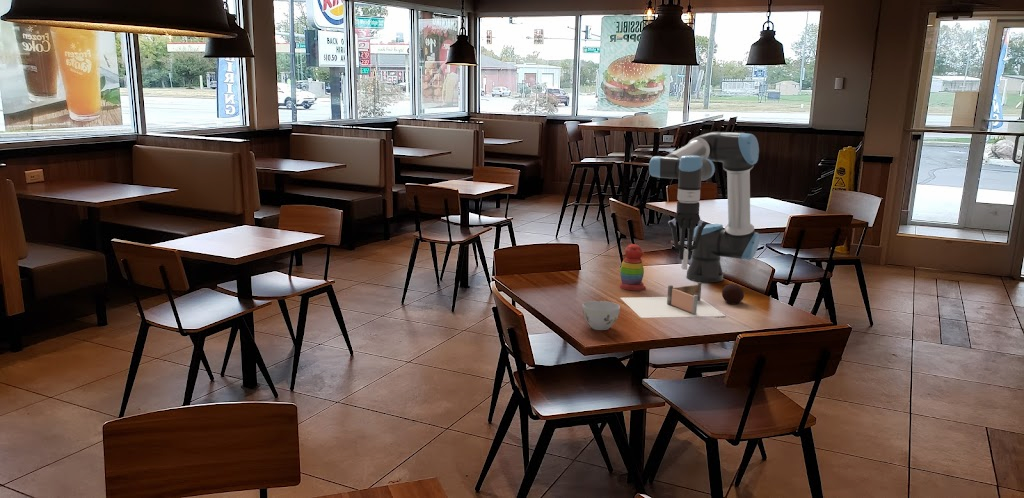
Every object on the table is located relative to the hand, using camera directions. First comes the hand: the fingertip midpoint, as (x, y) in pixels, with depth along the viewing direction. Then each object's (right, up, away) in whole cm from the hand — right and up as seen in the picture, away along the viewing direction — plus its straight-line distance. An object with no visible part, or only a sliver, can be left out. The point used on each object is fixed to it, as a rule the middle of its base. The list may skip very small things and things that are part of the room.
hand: (684, 268), depth 264 cm
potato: (+23, -14, +22) cm, 35 cm away
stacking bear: (-11, -9, +43) cm, 45 cm away
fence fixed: (+5, -13, +21) cm, 25 cm away
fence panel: (+2, -15, +11) cm, 18 cm away
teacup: (-31, -20, -9) cm, 38 cm away
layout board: (-2, -15, +15) cm, 21 cm away
